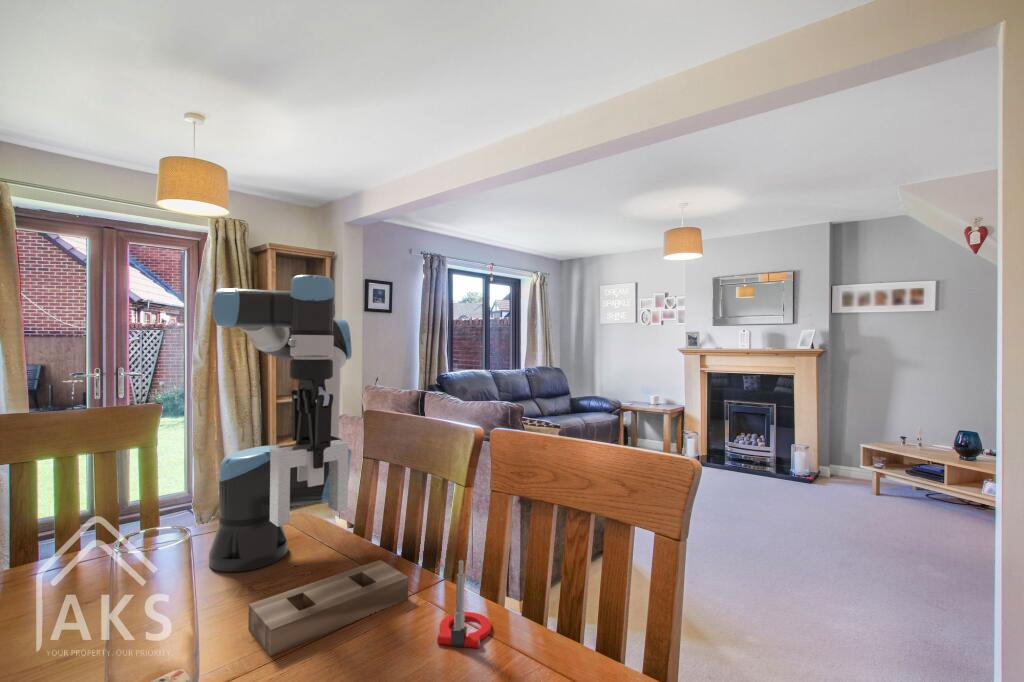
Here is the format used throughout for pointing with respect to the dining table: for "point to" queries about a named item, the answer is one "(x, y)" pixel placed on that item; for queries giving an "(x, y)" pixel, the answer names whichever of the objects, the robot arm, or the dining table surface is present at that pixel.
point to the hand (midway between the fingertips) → (310, 482)
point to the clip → (297, 457)
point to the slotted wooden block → (325, 605)
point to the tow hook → (462, 621)
